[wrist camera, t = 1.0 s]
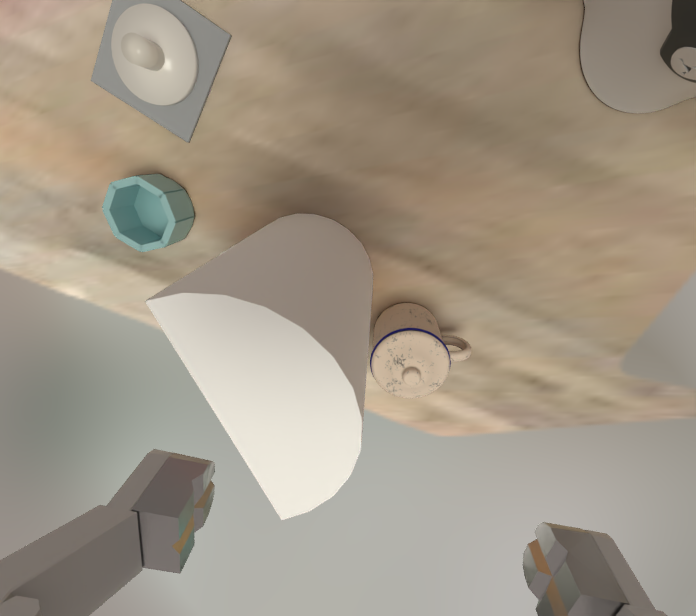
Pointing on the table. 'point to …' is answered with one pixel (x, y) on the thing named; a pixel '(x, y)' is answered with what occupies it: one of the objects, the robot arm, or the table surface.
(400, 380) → the teacup with lid
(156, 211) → the cup
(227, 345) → the cylinder
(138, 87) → the lid
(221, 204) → the table surface
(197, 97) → the mat
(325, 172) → the table surface
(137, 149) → the table surface
